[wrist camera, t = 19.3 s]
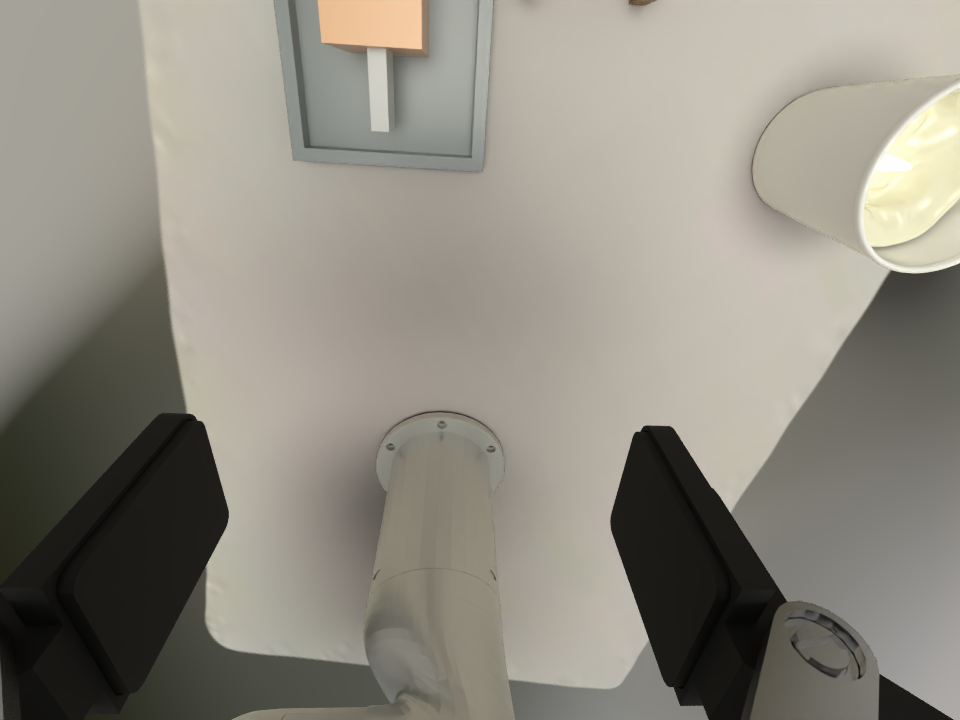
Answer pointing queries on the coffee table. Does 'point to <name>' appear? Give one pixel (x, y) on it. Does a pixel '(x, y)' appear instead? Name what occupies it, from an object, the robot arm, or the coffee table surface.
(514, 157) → the coffee table surface
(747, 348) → the coffee table surface
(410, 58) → the tray
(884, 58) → the coffee table surface
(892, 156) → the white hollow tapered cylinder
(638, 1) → the frame
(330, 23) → the peach slab with tab
